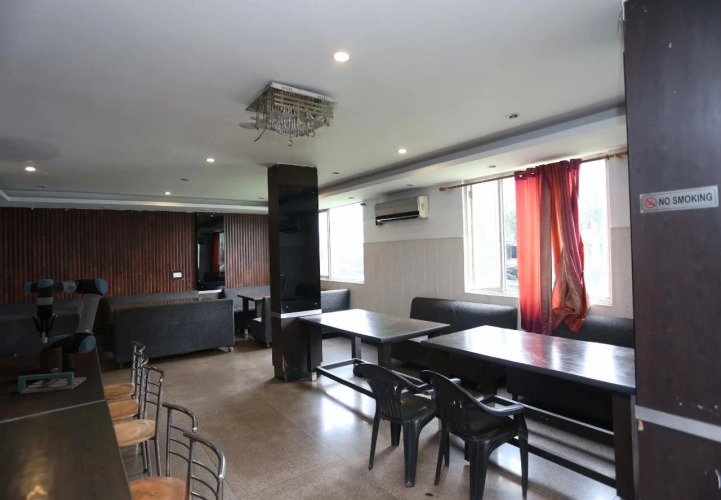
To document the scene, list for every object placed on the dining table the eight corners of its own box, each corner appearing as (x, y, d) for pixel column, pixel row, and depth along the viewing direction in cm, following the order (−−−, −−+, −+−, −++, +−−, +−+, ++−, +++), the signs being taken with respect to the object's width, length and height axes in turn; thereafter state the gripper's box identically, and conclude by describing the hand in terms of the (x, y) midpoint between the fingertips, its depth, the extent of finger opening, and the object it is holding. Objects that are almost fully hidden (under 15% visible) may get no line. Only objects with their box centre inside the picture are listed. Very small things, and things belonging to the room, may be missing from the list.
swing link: (51, 380, 238) (51, 375, 238) (60, 379, 240) (60, 374, 240) (40, 387, 224) (40, 382, 224) (49, 386, 226) (49, 381, 226)
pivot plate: (39, 383, 240) (39, 367, 240) (86, 379, 246) (86, 364, 247) (20, 393, 221) (20, 376, 221) (71, 389, 227) (72, 373, 227)
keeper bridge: (20, 391, 225) (20, 376, 225) (73, 386, 232) (73, 372, 232) (17, 392, 223) (17, 377, 223) (71, 387, 230) (71, 373, 230)
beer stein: (67, 375, 256) (65, 344, 257) (53, 380, 245) (51, 348, 246) (45, 376, 257) (44, 346, 258) (30, 381, 247) (29, 349, 247)
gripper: (60, 303, 247) (59, 340, 247) (35, 304, 244) (35, 342, 243) (54, 304, 240) (54, 343, 239) (29, 305, 237) (28, 344, 236)
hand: (44, 342), depth 241 cm, fingers closed
